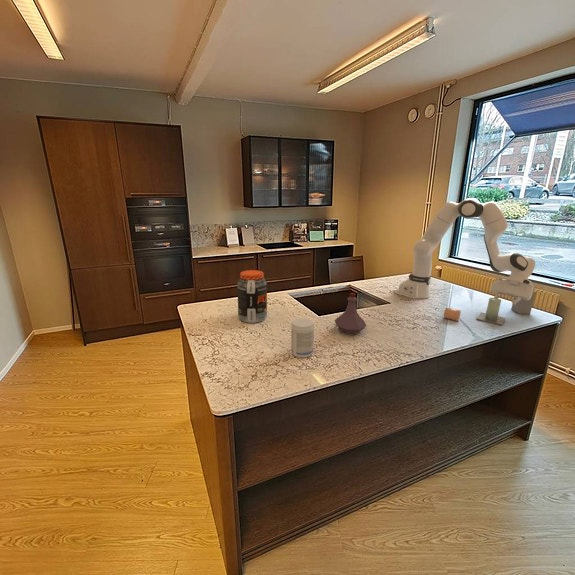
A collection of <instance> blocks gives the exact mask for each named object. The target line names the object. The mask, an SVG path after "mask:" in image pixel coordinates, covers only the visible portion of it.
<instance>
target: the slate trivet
mask: <svg viewBox="0 0 575 575" xmlns="http://www.w3.org/2000/svg"><path fill="white" fill-rule="evenodd" d="M485 315H486V312H480V313H479V314H478V315H477V317H476V319H475V320H476V321H481V322H484V323H488V324H493V325H496V326H499V327H501V326H503V324H504V322H505V320H506V317H503V316H500V315H498V317H497V320H490V319H487V318H485Z"/></svg>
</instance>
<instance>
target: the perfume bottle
mask: <svg viewBox="0 0 575 575" xmlns="http://www.w3.org/2000/svg"><path fill="white" fill-rule="evenodd" d="M535 289H536V287H534V289H533V294H532V297H531V299H530V300H528V301H527V300H523V299H521V301H519V302H517V303H516V304H511V308H510V309H511V310H512V311H514V312H515V313H517V314H521V315H522V314H524V315H525V314H527V315H530V314H531V312H532V308H533V305H534V301H535V298H536V294H537V291H535ZM516 299H518V298H515V297H513V300H516Z"/></svg>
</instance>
